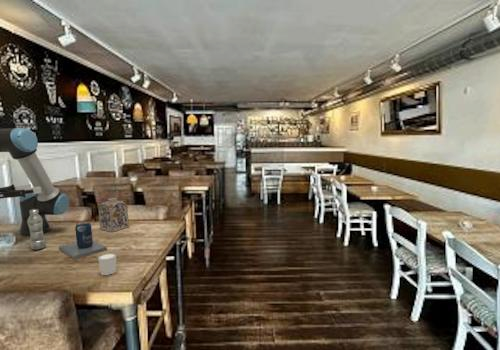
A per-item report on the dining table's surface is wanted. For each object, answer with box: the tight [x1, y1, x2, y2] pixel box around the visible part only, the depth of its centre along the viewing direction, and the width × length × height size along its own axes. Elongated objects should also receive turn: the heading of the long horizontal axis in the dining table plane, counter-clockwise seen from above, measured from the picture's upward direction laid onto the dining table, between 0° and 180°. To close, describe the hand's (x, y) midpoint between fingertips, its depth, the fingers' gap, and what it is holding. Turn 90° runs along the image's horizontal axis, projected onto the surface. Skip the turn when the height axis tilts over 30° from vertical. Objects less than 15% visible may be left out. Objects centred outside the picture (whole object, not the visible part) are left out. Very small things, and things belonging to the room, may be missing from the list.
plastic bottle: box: [27, 209, 47, 251], centre depth 172 cm, size 6×7×20 cm
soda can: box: [75, 220, 94, 249], centre depth 169 cm, size 7×7×12 cm
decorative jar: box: [98, 197, 130, 233], centre depth 204 cm, size 12×12×18 cm
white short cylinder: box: [97, 253, 117, 276], centre depth 142 cm, size 7×7×7 cm
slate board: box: [58, 240, 108, 260], centre depth 170 cm, size 20×15×2 cm
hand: (35, 188), depth 163 cm, fingers open, 13 cm apart
